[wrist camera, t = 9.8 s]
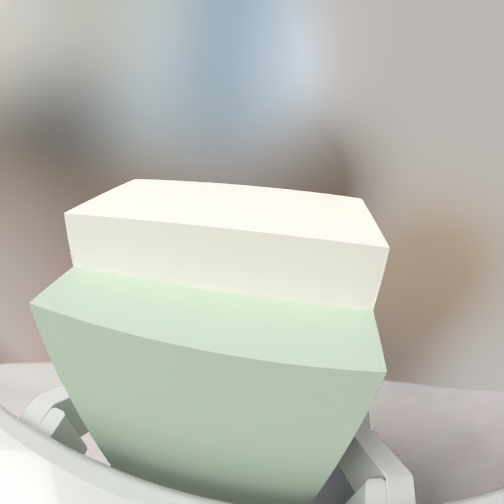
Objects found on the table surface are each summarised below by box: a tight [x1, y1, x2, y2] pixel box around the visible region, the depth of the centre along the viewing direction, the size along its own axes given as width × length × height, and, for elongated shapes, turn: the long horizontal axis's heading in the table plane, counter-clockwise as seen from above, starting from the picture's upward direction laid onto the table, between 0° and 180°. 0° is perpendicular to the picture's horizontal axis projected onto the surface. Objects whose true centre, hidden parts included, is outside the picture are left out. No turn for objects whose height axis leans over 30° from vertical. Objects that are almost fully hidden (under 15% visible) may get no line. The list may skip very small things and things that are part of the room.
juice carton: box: [29, 179, 390, 504], centre depth 9 cm, size 6×6×13 cm
